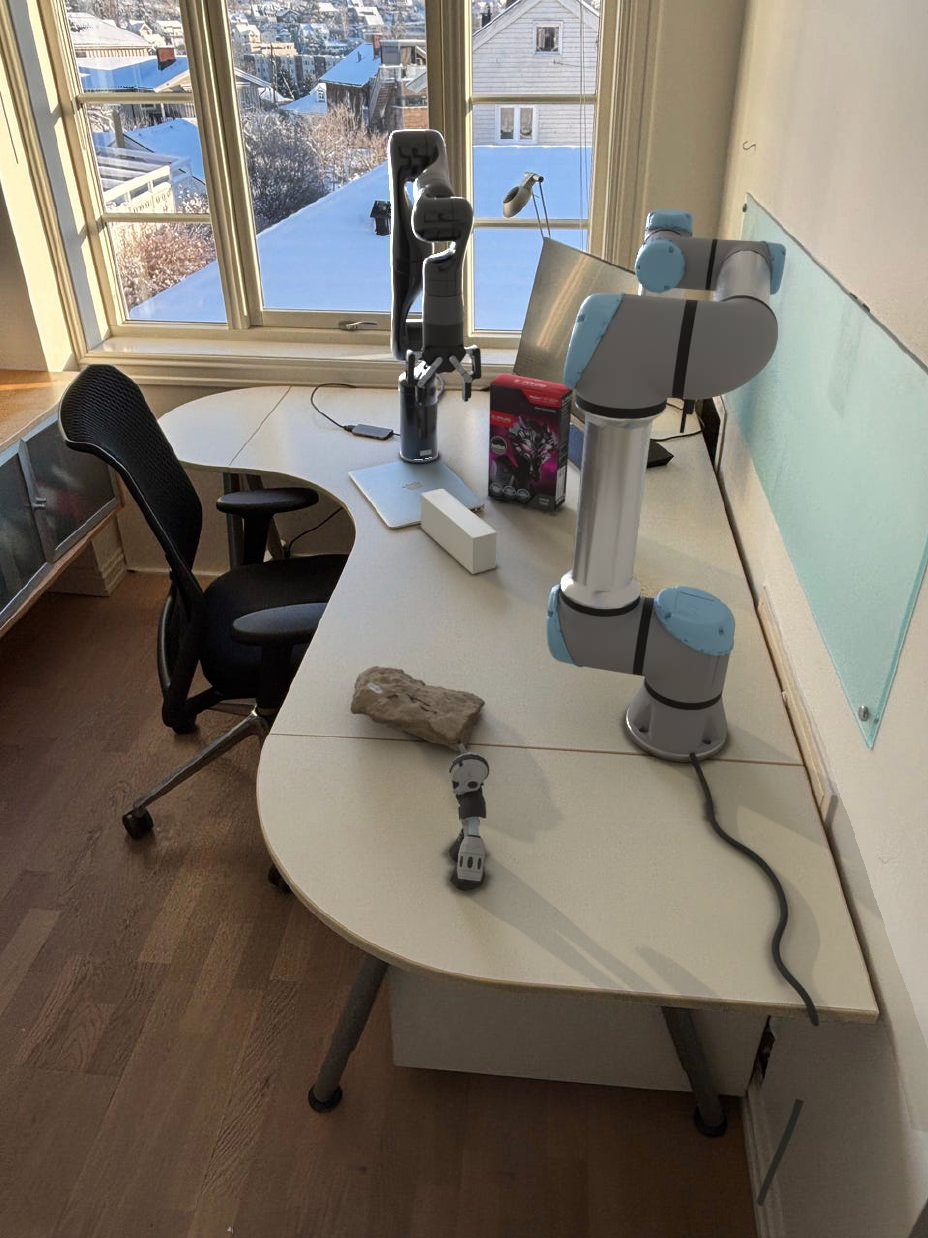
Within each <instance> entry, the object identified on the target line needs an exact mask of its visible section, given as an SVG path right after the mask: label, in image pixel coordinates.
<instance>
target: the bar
mask: <svg viewBox="0 0 928 1238" xmlns="http://www.w3.org/2000/svg"><path fill="white" fill-rule="evenodd" d="M420 528H421V529H422V530H423V531H424V532H425V533H426V534H427V535H429V537H430V538H432V539H433V540H434V541H435V542H436V543H437V544H439V545H440V546H441V547H442V548H443V549H444V550H445V551H446V552H447V553H448V554H449V555H451V556H452V557H453V559H455V560H456V561H457V562H458V563H459V564H461V565H462V566H463V567H464V568H465V569H466V570H467V571H469V573H471V574H472V575H474V574H478V573H482V572H486V571H488V570H492V569H495V568H496V565H497V564H496V562H497V536H498V535H497V534H498V532H497V531H496V530H495V529H494V528H492V527H491V526H490V525H489V524H487V522H485V521H484V520H483V519H482V518H481V517H479V516H477V514H475V513H474V512H472V510H470V509H469V508H468V507H466V505H465V504H463V503H462V502H461V501H459V500H458V499H457V498H455V496H453V495H451V494H450V492H448V491H447V490H446V489H444V488H443V487H442V488H438V489H433V490H429V491H425V492H422V493H420Z"/></svg>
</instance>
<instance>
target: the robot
mask: <svg viewBox="0 0 928 1238" xmlns="http://www.w3.org/2000/svg"><path fill="white" fill-rule="evenodd" d="M457 743H458V746H459V748H460V751H459V752H460V753H461V754H460V755H458V756H457V757H455V758H454V759H453V760H452V761H451V763H450V764H449V767H448V773H449V774H448V775H449V779H450V780H451V791H452V793H453V794H454V795H455V796H454V797H455V799H456V801H457V803H458V805H459V806H458V807H457V808H458V809H457V810H458V820H459V821H460V823H461V825H462V826H461V830H460V831H459V833H458V836H457V838H456V839H455V841H454V842H453V843H452V845H451V846H450V848H449V850H448V853H449V855H450V857H451V859H452V861H455V862H456V864H455V866H454V868H453V871H452V873H451V876H450V882H451V883H452V884H453V885H454V887H456V888H457V889H459V890H464V891H467V890H468V891H469V890H473V889H475V888H477V887H480V886H482V885H483V883H484V880H485V877H486V873H485V859H486V846H485V842H484V838H482V837H481V835H480V830H479V829H480V824H481V822H480V821H481V820H480V818H482V819H487V806H486V805H487V803H486V800H485V797H484V794H483V793H484V792H483V786H484V783H485V780H487V779H488V777H489V775H490V766H489V763H488V761H487V759H486V758H484V756H482V755H480V754H478V753H476V752H473V751H468V750H467V749H466V746H465V747H464V745H463V744H462V742H461V740H460V739H458V740H457Z"/></svg>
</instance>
